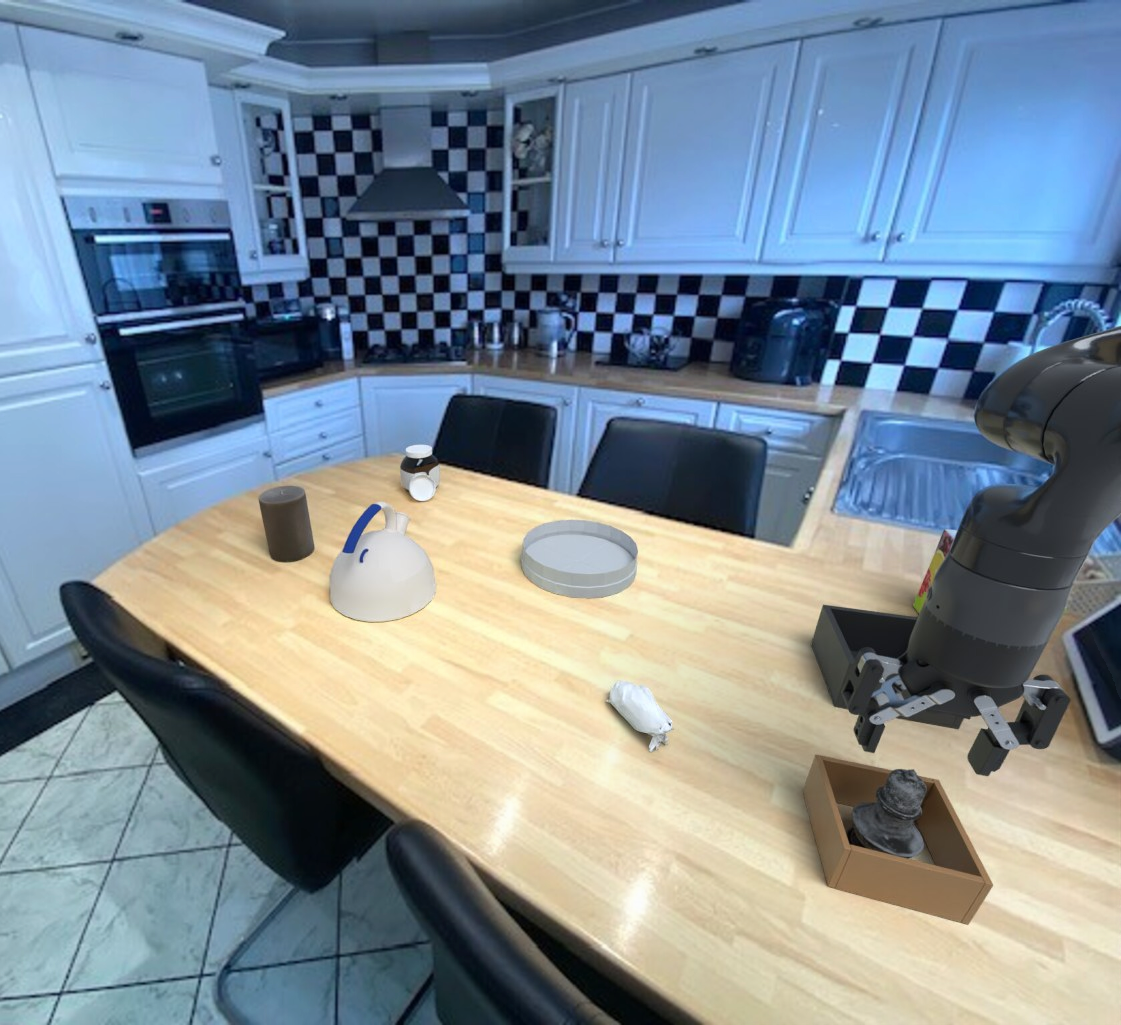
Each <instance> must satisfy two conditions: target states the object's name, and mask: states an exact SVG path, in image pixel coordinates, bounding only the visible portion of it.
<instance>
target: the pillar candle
mask: <svg viewBox="0 0 1121 1025" xmlns="http://www.w3.org/2000/svg"><path fill="white" fill-rule="evenodd" d="M257 500H258V504H259V511H260V514H261V520H262V523H263V529H264V533H265V539H266V545H267V549H268V554H269V557H270V558H271V559H272V560H274V561H276V562H280V563H285V562H286V563H287V562H290V563H291V562H297V561H299V560H300V561H301V560H303V559H305V558H307V557H309V556H310V555H311V554H312V553H313V552H314V551H315V541H314V535H313V530H312V523H311V517H310V512H309V506H308V500H307V494H306V489H304V487H303V486H300V485H290V484H289V485H288V484H287V485H282V486H281V485H280V486H275V487H272V488H267V489H266V490H264V491H262V492H261V493H259V494H258V497H257Z"/></svg>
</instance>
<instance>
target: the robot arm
mask: <svg viewBox="0 0 1121 1025" xmlns="http://www.w3.org/2000/svg"><path fill="white" fill-rule="evenodd" d="M973 419H974V424H975V426H976V429H977V430H978V432H979V434H981V436H983V437H984V438H985V439H986V440H987V441H989V442H991V443H993V444H994V445H996V446H998V447H1000V448H1003V449H1005V450H1008V451H1011V452H1014V453H1017V454H1019V455H1024V456H1027V457H1030V458H1031V459H1034V460H1038V461H1040V462H1042V463H1046V464H1049V465H1052V466H1054V467H1053V469H1052V472H1051V474H1050V475H1049V477H1048V478H1047V479H1046V480H1045V481H1044V482H1043V483H1042V484H1041V485H1040V486H1039V485H1032V484H1021V483H998V484H993V485H989V486H986V487H983V488H982V489H980V490H979V491H977V492H976V493H975V494H974V495H973V496H972V498H971V500H969V503H968V505H967V506H966V509H965V510H964V513H963V515H962V518H961V520H960V523H959V525H958V528H957V529H956V530H957V532H956V535H955V537H954V540H953V542H952V545H951V547H950V550H949V552H948V554H947V556H946V558H945V559H944V561H943V562H942V564H941V565H940V567H939V569H938V570H937V572H936V574H935V576H934V579H933V581H932V584H931V586H930V587H929V589H928V590H927V592H926V599H925V601H924V604H923V606H922V609H921V611H920V614H919V613H918V616H917V617H918V619H917V621H916V624H915V626H914V629H913V631H912V634H911V636H910V640H909V645H908V649H907V651H906V652H905V653H904V654H903V655H901V656H900V657H898V658H897V659H894V658H889V657H884V656H879V655H876V653H875V651H874V650H873V649H872V648H870V647H864V648H862V649H860V650H859V652H858V655H857V657H856V659H855V661H854V663H853V666H852V668H851V670H850V672H849V674H848V677H847V679H846V681H845V683H844V685H843V688H842V690H841V693H842V696H843V698H844V701H845V703H846V705H847V708H848V709H847V711H848V712H849V713H850V714H851V715H853V716H857V719H856V721H855V724H854V727H853V733H854V736H855V738H856V741H857V743H858V745H859V746H861V748H862V750H863V752H866V753H871V754H875V752H876V750H877V747H878V745H879V743H880V740H881V738H882V736H883V733H884V730H885V728H886V725H885V723H887V722H891V721H892V720H894V719H897V718H896V717H898V716H903V717H909V716H911V715H913V714H916V713H918V712H920V711H922V710H924V709H925V711H926V712H931V713H936V714H951V715H953V716H956V717H959V718H964V719H963V720H970V719H971V718H974V717H979V716H981V718H982V720H983V721H984V723H985V724H986V726H987V728H982V727H981V728H980V729H979V732H978V733H977V735H976V738H975V739H974V741H973V743H972V744H971V747H970V750H969V751H968V753H967V755H966V756H967V757H966V758H967V762H968V763H969V765H970V766H971V768H972V771H973V772H974V773H975V774H976V775H978V776H984V777H990V775H991V772H992V773H993V772H994V773H995V772H996V771H998V770H1000V769H1001V767H1002V765H1003V764H1004V762H1005V760H1006V758H1007V756H1008V755H1009V753H1010V751H1011V750H1015V749H1017V748H1018V747H1019V746H1030V747H1031V748H1033V749H1034V750H1035V749H1036V750H1044V749H1047V748H1049V747H1050V745H1051V743H1052V741H1053V739H1054V737H1055V734H1056V732H1057V730H1058V728H1059V726H1060V724H1061V722H1062V720H1063V717H1064V715H1065V713H1066V711H1067V709H1068V707H1069V705H1070V703H1071V698H1070V696H1069V695H1068V694H1067V693H1066V692H1065V690H1064V689H1063V688H1062V687H1061V686H1060V685H1059V683H1058V682H1056V681H1055V680H1054V678H1053V677H1052V676H1050V675H1048V674H1043V673H1042V674H1038V675H1035V676H1034V677H1033V678H1032V679H1030V677H1031V674H1032V673H1033V672H1034V669H1035V668H1036V665H1037V663H1038V661H1039V660H1040V658H1041V656H1042V654H1043V652H1044V650H1045V649H1046V647H1047V645H1048V643H1049V642H1050V639H1051V638H1052V636H1053V634H1054V632H1055V631H1054V630H1056V629H1057V627H1058V625H1059V624H1058V622H1059V620H1060V619H1061V620H1062V618H1063V617H1062V615H1063V612H1064V610H1065V607H1067V604H1068V601H1069V596H1070V593H1071V590H1072V588H1073V585H1074V583H1075V581H1076V580H1077V578H1078V576H1079V574H1080V573H1081V570H1082V569H1083V566H1084V564H1085V563H1086V561H1087V559H1088V557H1089V555H1090V553H1091V551H1092V549H1093V547H1094V545H1095V543H1096V541H1097V540H1098V538H1099V537H1100V536H1101V534H1102V533H1104V532H1105V530H1106V529H1107V528H1108V527H1110V525H1112V524H1113V523H1114V522H1115V521H1116V520H1117V519H1118V518H1119V517H1120V516H1121V325H1118V326H1115V327H1111V328H1108V329H1105V330H1101V331H1098V332H1094V333H1091V334H1087V335H1084V336H1081V337H1077V338H1074V339H1070V340H1067V341H1063V342H1061V343H1058V344H1053V345H1052V346H1049V347H1046V348H1043V349H1041V350H1038V351H1035V352H1033V353H1031V354H1029V355H1027V356H1025V357H1023V358H1021V359H1019V360H1017V361H1016V362H1014V363H1013V364H1011V365H1010V366H1008V367H1007V368H1005V369H1004V370H1002V371H1001V372H1000V373H999V374H997V375H996V376H995V377H994V378H993V379H992V380H991V381H990V382H989V383H988V384H987V385H986V386H985V388H984V389H983V390H982V392H981V393H980V395H979V397H978V399H977V400H976V403H975V406H974V411H973ZM1063 616H1064V615H1063ZM1061 617H1062V618H1061ZM1061 620H1060V621H1061ZM1059 623H1060V622H1059ZM1057 624H1058V625H1057ZM1056 626H1057V627H1056ZM1055 628H1056V629H1055ZM1052 633H1053V634H1052ZM1051 635H1052V636H1051ZM1050 637H1051V638H1050ZM890 674H898V675H897V676H895V677H893V678H891V679H889V680H887V681H886V682H885V679H886V678H887V676H889V675H890ZM878 682H880V683H883V684H882V687H881V688H880V689H879V690H877V691H875V692H874V690H875V688H876V686H877V684H878ZM905 689H907V690H908V692H909V694H910V695H911V697H910V698H908V699H906V700H904V698H903V696H902V692H903V691H904V690H905ZM1021 697H1023V699H1024V700H1023V702H1022V704H1021V706H1020V709H1019V711H1018V714H1017V716H1016V718H1015V721H1007V720H1006V719H1005V717H1004V716H1003V713H1002V712H1001V711H1000V709H999V708H1000V707H1003V706H1005V705H1007V704H1009V703H1011V702H1013V701H1016V700H1017V699H1020V698H1021ZM887 702H889V703H888V704H886V705H884V706H882V707H880V706H881V705H883V704H885V703H887Z"/></svg>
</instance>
